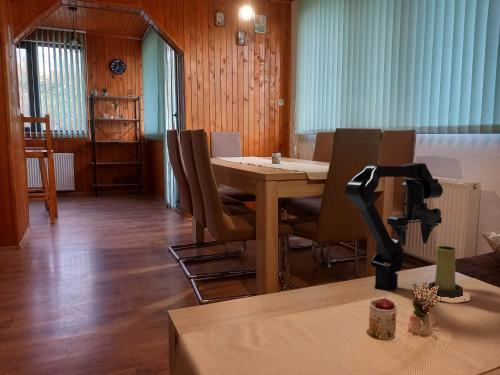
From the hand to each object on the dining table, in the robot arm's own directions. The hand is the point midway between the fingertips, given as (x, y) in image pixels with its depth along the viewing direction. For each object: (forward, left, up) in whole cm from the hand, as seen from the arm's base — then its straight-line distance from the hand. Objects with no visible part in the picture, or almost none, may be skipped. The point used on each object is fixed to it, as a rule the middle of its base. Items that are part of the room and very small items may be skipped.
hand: (414, 244), depth 142 cm
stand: (+10, -11, -13) cm, 20 cm away
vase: (+10, -11, -12) cm, 19 cm away
